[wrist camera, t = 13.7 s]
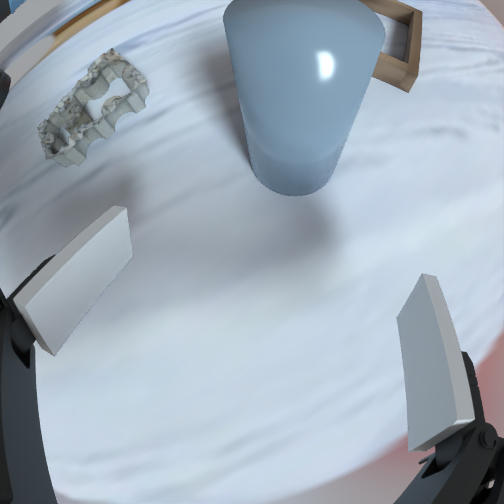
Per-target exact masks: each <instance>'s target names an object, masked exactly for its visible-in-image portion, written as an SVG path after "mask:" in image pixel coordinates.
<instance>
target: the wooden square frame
mask: <svg viewBox="0 0 504 504" xmlns="http://www.w3.org/2000/svg"><path fill="white" fill-rule="evenodd" d="M358 1H360V2H362V3H363V4H365V5H366V6H367V7H369V8H370V9H371V10H372V11H374V12H377V13H379V14H382V15H385V16H387V17H390V18H392V19H395V20H397V21H399V22H402V23H404V24H406V25H409V27H408V35H407V42H406V49H405V55H404V61H401V60H398V59H396V58H394V57H392V56H389V55H387V54H385V53H382V52H380V55H379V57H378V60H377V63H376V66H375V68H374V71H373V74H372V77H375V78H377V79H380V80H382V81H384V82H386V83H389V84H391V85H393V86H395V87H397V88H400V89H402V90H404V91H406V92H408V93H409V91H410V89H411V88H412V86H413V84H414V82H415V80H416V78H417V77H418V71H419V61H420V50H421V35H422V11H420V10H417V9H415V8H413V7H411V6H408V5H406V4H404V3H401V2H399V1H397V0H358Z"/></svg>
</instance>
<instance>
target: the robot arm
mask: <svg viewBox="0 0 504 504" xmlns="http://www.w3.org/2000/svg"><path fill="white" fill-rule="evenodd" d="M25 1H26V0H0V23H1V22H2V21H3V20H4V19H5V18H7V16H9V15H10V14H13V13H14V12H15V10H16V9H17V8H18V7H19V6H20V5H21V4H23V3H24V2H25ZM10 82H11V78H10V77H9V76H8V75H7V74H6V73H5V72H4V71H3V70H1V69H0V107H1V105H2V103H3V101H4V99H5V97H6V95H7V93H8V90H9V87H10ZM132 257H133V250H132V244H131V237H130V230H129V223H128V215H127V208H126V207H121V206H115V205H113V206H112V207H111V208H110V209H108V210H107V211H106V212H105V213H103V214H102V215H101V216H100V217H99V218H97V219H96V220H95V221H94V222H93V223H91V224H90V225H89V226H88V227H87V228H86V229H84V230H83V231H82V232H81V233H80V234H79V235H77V236H76V237H75V238H74V239H73V240H72V241H71V242H70V243H69V244H67V245H66V246H65V247H64V248H63V249H62V250H61V251H60V252H59V253H58V254H57V255H53V256H51V257H50V258H48V259H46V260H44V261H43V262H42V263H41V264H40V265H39V266H38V267H37V269H36V270H34V271H33V272H32V273H31V274H30V276H28V277H27V278H26V279H25V280H24V281H23V282H22V283H21V284H20V285H19V286H18V288H17V289H16V290H15V291H14V292H13V293H12V294H11V295H10V296H9V297H8V298H7V299H6V298H5V296H4V294H3V292H2V290H1V288H0V504H57V500H56V497H55V494H54V490H53V486H52V483H51V479H50V475H49V471H48V466H47V462H46V457H45V452H44V447H43V441H42V435H41V428H40V421H39V412H38V403H37V390H36V370H35V347H34V345H33V343H34V342H35V340H37V342H38V343H39V345H40V346H41V348H42V349H43V350H45V351H47V352H48V353H50V354H51V355H53V356H55V355H56V354H57V352H58V351H59V350H60V348H61V347H62V345H63V344H64V343H65V341H66V340H67V338H68V337H69V336H70V334H71V333H72V332H73V330H74V329H75V328H76V326H77V325H78V324H79V322H80V321H81V320H82V318H83V317H84V316H85V315H86V313H87V312H88V311H89V309H90V308H91V307H92V306H93V304H94V303H95V302H96V301H97V299H98V298H99V297H100V296H101V294H102V293H103V292H104V291H105V289H106V288H107V287H108V286H109V285H110V283H111V282H112V281H113V280H114V279H115V277H116V276H117V275H118V274H119V273H120V271H121V270H122V269H123V268H124V267H125V266H126V264H127V263H128V262H129V261H130V260H131V259H132ZM397 324H398V330H399V337H400V344H401V351H402V359H403V368H404V377H405V388H406V401H407V419H408V452H422V451H427V450H428V449H430V448H432V447H433V446H435V453H433V454H431V455H429V456H427V457H426V458H424V459H422V460H421V461H420V462H419V464H422V463H424V462H426V461H427V462H426V463H425V465H424V466H423V468H422V469H421V470H420V472H419V473H418V474H417V476H416V477H415V478H414V480H413V481H412V482H411V483H410V485H409V486H408V487H407V488H406V490H405V491H404V492H403V493H402V495H401V496H400V497H399V498H398V499H397V500H396V501H395V503H394V504H504V438H501V437H498V435H497V432H496V430H495V428H494V427H493V426H492V425H491V424H489V423H486V422H485V418H484V412H483V407H482V401H481V397H480V391H479V387H478V386H477V385H478V383H477V378H476V377H475V375H476V374H475V370H474V366H473V362H472V361H471V359H470V357H469V356H468V354H467V352H462V351H461V350H460V346H459V342H458V339H457V335H456V332H455V329H454V326H453V322H452V319H451V316H450V313H449V310H448V307H447V304H446V301H445V299H444V296H443V293H442V290H441V288H440V285H439V282H438V280H437V277H435V276H431V275H427V274H423V273H422V274H421V276H420V278H419V280H418V282H417V284H416V285H415V287H414V289H413V291H412V293H411V294H410V296H409V298H408V299H407V301H406V303H405V305H404V306H403V308H402V310H401V311H400V313H399V314H398V316H397ZM493 480H495V481H494V484H493V487H492V488H488V486H489V482H491V481H493Z"/></svg>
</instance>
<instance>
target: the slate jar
mask: <svg viewBox="0 0 504 504" xmlns="http://www.w3.org/2000/svg"><path fill="white" fill-rule="evenodd" d="M223 22H224V27H225V32H226V36H227V41H228V46H229V51H230V56H231V62H232V67H233V72H234V77H235V82H236V87H237V92H238V97H239V103H240V108H241V113H242V119H243V124H244V129H245V135H246V140H247V145H248V151H249V156H250V162H251V166H252V169H253V172H254V173H255V175H256V177H257V178H258V179H259V181H260V182H261V183H262V184H263V185H265V186H266V187H267V188H269V189H271V190H272V191H275V192H277V193H280V194H283V195H288V196H302V195H307V194H310V193H313V192H315V191H317V190H319V189H320V188H322V187H323V186H324V185H325V184H326V183H327V182H328V181H329V179H330V178H331V176H332V174H333V172H334V170H335V167H336V165H337V162H338V160H339V158H340V155H341V153H342V150H343V148H344V146H345V143H346V141H347V138H348V136H349V133H350V131H351V128H352V126H353V123H354V121H355V118H356V116H357V113H358V111H359V108H360V105H361V103H362V100H363V98H364V95H365V92H366V90H367V87H368V85H369V82H370V79H371V77H372V74H373V71H374V68H375V66H376V63H377V60H378V57H379V55H380V52H381V49H382V46H383V43H384V40H385V28H384V26H383V23H382V22H381V20H380V19H379V17H378V16H377V15H376V14H375V13H374V12H373V11H372V10H371V9H370V8H369V7H367V6H366V5H365V4H363V3H362V2H360V1H358V0H233V1H232V2H231V3H230V4H229V5H228V7H227V8H226V10H225V12H224V15H223Z"/></svg>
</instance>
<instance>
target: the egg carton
mask: <svg viewBox="0 0 504 504" xmlns="http://www.w3.org/2000/svg"><path fill="white" fill-rule="evenodd" d="M116 78H122V79H123V80H124V82H125V83H126V85H127V86H128V88H129V89H130V90H131V91H132V92H131V93H129V94H128V95H125V96H124V97H122V98H121V97H120V96H113V97H111V98H109V99H108V100H106V101H105V103H104V104H103V106H102V110H101V111H102V114H103V117H101V118H99V119H97V120H96V121H95V123H96V124H95V125H94V121H93V120H92V119H91V118H90V116H89V115H88V114H87V113H86V112H85V111H84V110H83V109H84V106H85V105H86V104H87V102H88V101H89V100H90V99H93V100H96V99H99V98H101V97H102V96H104V95H105V94H106V92H107V91H108V90H109V86H110V85H109V84H110V83H111V82H112V81H113V80H115V79H116ZM145 82H147V81H146V80H145V79H144V78H143V77H142V76H141V74H140V73H139V72H138V71H137V70H136V69H135V68H134V67H133V66H132V65H131V64H129V63H128V62H127V61H126V60H124V59H123V57H122V56H121V55H120V54H119V53H118V52H116V51H115V50H113V48H112V49H110V50H109V51H108V52H107V53H106V54H105V53H104V54H102V55H101V56H100V57H99V59H97V60H96V61H94V62H93V64H92V65H91V66H90V67H89V68H88V74H87V75H86V76H85V77H83V78H82V79H80V80H79V81H78V82H77V83H76V86H75V87H74V88H73V89H72V90H71V91H70V93H69V94H68V95H66V96H65V97H63V98H62V99H61V101H60V102H59V103H58V105H57V106H56V107H55V109H54V111H53V112H52V113H51V114H50V116H49V119H48V120H46V119H45V120H44V121H43V122H42V123H41V124H40V125H39V127H37V128H38V130H39V131H40V132H39V136H40V138H41V143H42V147H43V148H42V149H43V150H44V152H45V154H46V159H50V158H53V159H54V160H56V161H57V162H59V163H60V164H62V165H63V166H64V167H67V166H69V165H71V164H76V165H78V166H80V165H81V164H82V163H83V162H84V161H85V160H86V151H87V148H88V146H89V145H90V143H91V142H93V141H94V140H95V139H97V138H105V139H108V138H109V137H110V136H111V135H113V134H114V133H115V124H116V121H117V120H118V119H119V118H120V117H121V116H122V115H123V114H125V113H128V112H135V113H136V114H137V113H139V112H140V111H141V110H143V109H144V108H145V107H146V105H145V99H146V97H147V95H148V94H149V89H148V88H147V86H146V84H145ZM62 125H63V127H64V129H65V130H67V131H68V132H69V133H70V134H71V136H70V137H68V138H69V144H68V145H67V144H66V143H64V142H63V141H62V140H61V139H59V138H58V135H59V132H60V128H61V126H62Z"/></svg>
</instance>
